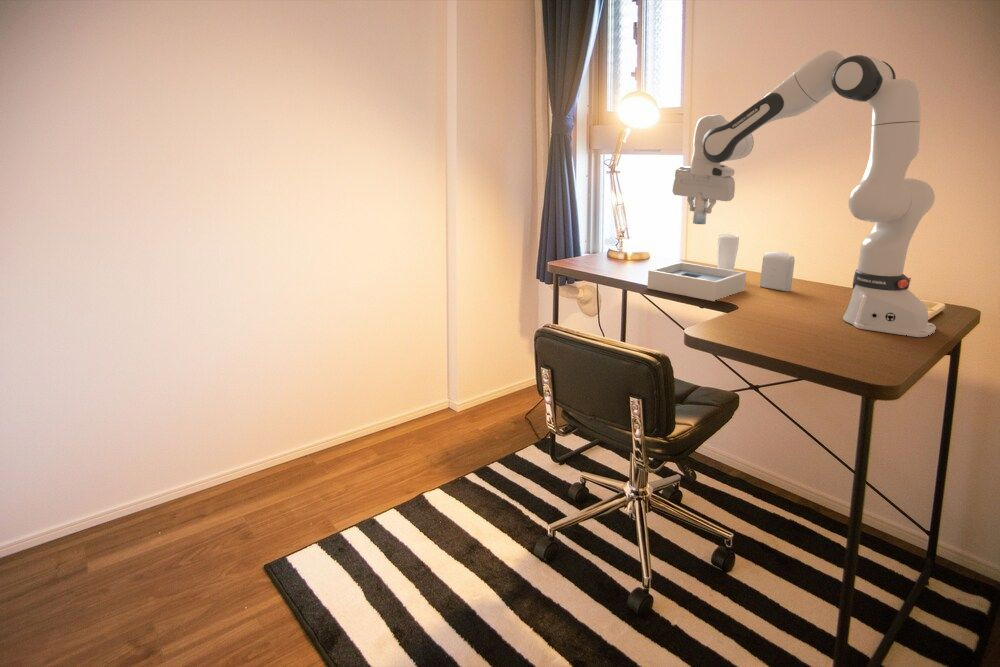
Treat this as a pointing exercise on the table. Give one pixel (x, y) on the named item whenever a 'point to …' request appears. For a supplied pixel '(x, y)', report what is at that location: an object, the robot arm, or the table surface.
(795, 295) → the table surface
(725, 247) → the drinking glass
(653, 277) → the box
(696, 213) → the peg
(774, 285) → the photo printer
